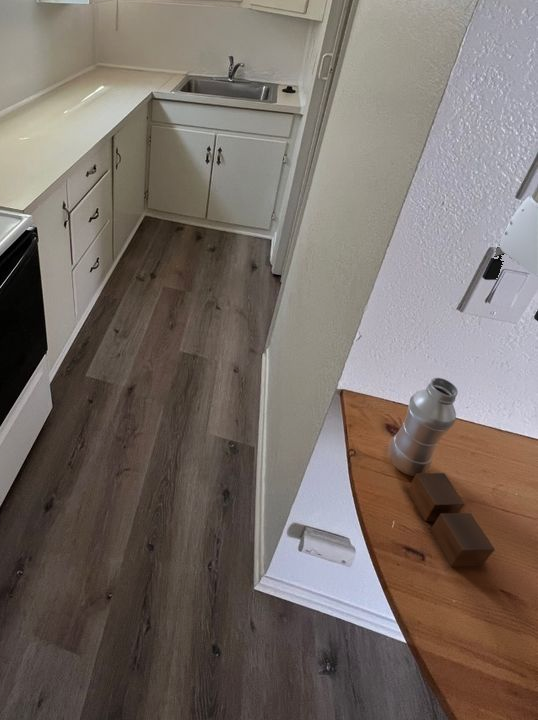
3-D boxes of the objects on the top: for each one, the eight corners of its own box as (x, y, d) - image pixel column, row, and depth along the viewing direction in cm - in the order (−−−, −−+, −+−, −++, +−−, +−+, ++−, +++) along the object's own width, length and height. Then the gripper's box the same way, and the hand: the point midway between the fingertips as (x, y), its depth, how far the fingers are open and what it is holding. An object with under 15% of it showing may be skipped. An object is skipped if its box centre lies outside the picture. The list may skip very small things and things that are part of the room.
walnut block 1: (434, 489, 73) (444, 472, 71) (453, 520, 69) (465, 504, 67) (407, 490, 73) (416, 473, 71) (424, 521, 69) (435, 504, 66)
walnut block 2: (459, 529, 68) (470, 512, 66) (481, 566, 63) (495, 549, 61) (429, 530, 68) (440, 513, 65) (450, 566, 63) (462, 550, 61)
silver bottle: (434, 473, 76) (479, 396, 66) (407, 487, 73) (449, 410, 64) (402, 440, 81) (439, 365, 72) (375, 453, 79) (411, 377, 69)
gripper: (669, 231, 51) (596, 338, 58) (540, 174, 66) (495, 265, 74) (609, 232, 50) (543, 339, 58) (493, 174, 66) (453, 265, 74)
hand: (516, 298), depth 66 cm, fingers open, 9 cm apart
